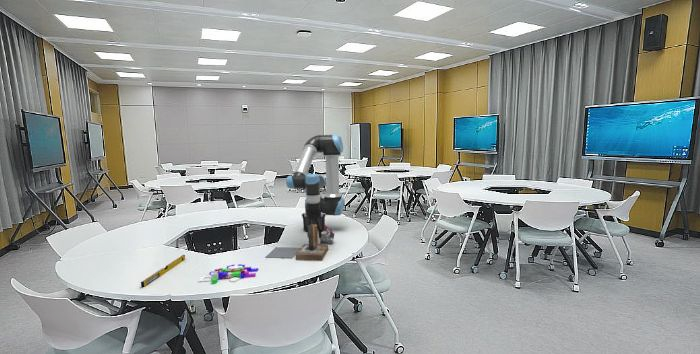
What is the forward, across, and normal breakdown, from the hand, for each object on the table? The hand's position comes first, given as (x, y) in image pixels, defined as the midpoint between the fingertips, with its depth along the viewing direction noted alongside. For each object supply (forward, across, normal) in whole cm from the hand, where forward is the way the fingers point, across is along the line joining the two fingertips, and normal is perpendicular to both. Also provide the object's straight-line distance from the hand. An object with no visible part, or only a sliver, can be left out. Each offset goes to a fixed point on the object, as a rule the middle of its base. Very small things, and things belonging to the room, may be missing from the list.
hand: (314, 243), depth 189 cm
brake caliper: (+5, +3, +15) cm, 16 cm away
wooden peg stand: (+5, 0, -6) cm, 7 cm away
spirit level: (+5, -66, -35) cm, 75 cm away
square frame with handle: (+2, 0, -6) cm, 6 cm away
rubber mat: (+5, -17, -4) cm, 18 cm away
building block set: (+5, -33, -34) cm, 48 cm away
